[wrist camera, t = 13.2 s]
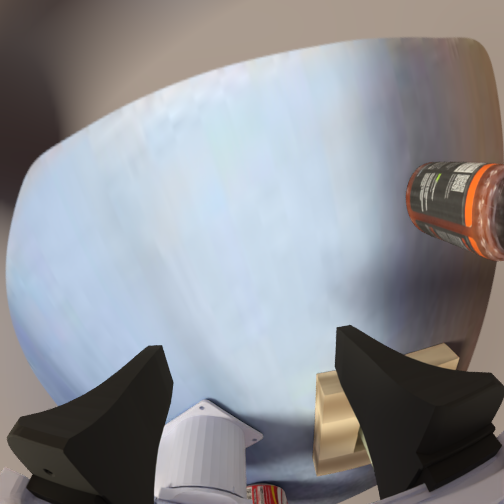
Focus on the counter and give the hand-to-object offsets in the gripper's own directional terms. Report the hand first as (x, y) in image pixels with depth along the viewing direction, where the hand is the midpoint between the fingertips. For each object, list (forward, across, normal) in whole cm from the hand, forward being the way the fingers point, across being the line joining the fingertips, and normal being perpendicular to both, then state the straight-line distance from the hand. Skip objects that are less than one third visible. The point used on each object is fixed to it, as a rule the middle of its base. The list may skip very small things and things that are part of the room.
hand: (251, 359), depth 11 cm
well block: (+10, -12, +17) cm, 23 cm away
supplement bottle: (+11, -16, -4) cm, 19 cm away
